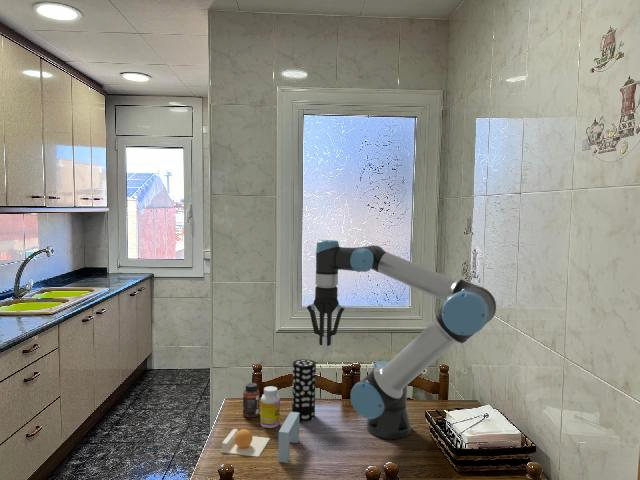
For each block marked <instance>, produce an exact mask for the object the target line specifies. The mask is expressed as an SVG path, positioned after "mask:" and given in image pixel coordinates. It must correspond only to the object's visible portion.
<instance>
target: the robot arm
mask: <svg viewBox="0 0 640 480" xmlns="http://www.w3.org/2000/svg"><path fill="white" fill-rule="evenodd" d="M339 243H340V242H339V241H338V240H334V239H323V240H322V239H320V240H318V241H317V242H316V247H315V248H316V250H315V285H316V286H315V289H314V293H315V294H314V300H313V303H311V304H308V306H307V307H306V309H307V310H308V312H309V315H310V316H309V317H310V320H311V325H312V329H313V333H314V335H318V339H319V340H318V342H319V344H318V345H319V346H321V355H322V357H327V356H328V355H329V351H328V350H329V347H330V346H331V344H332V336H335V335H336V334H337V332H338V329H339V326H340V322H341V319H342V315H343V312H344V311H345V310H346V308H345V306H342V305H341V304H340V303H339V300H338V292H339V291H338V288H339V287H338V282H339V279H338V278H339V271H351V272H356V273H361V272H363V273H364V272H365V273H367V272H369V271H370V270H372V271H375V272H378V273H380V274H383V275H384V276H387V277H389V278H390V279H394V280H395V281H397V282H401V283H402V284H404V285H406V286H409V287H411V288H414V289H416V290H418V291H420V292H423V293H425V294H427V295H430V296H431V297H434V298H436V299H438V300H440V301H442V302H444V303H443V305H442V306H440V308H438V310H436V311H435V313H434V320H433V321H432V322H431V323H430V324H429V325H428V326H427V327H425V329H424V330H422V331H421V332H420V333H419V334H418V335H417V336H416V337H415V338H413V339H412V340H411V341H410V342H409V343H408V344H407V345H406V346H405V347H404V348H403V349H401V351H399V352H398V353H397V354H396V355H395V356H394V357H393V358H392V359H391V360H389V361H376V362H374V364H373V367H372V371H370V372H369V373H368V374H367V375H366V376H365V377H363V378H362V380H360V381H358V382H356V383H355V384H354V385H353V386H352V389H351V390H350V402H351V405H352V407H353V409H354V411H355V412H356V413H357V414H358V415H359V416H361V417H362V418H364V419H366V430H367V431H368V432H369V434H371V435H373V436H376V437H378V438H381V439H387V440H397V439H398V440H399V439H400V440H401V439H403V438H406V437H408V436H410V434H411V432H412V431H411V429H412V428H411V427H412V426H411V422H410V417H409V413H408V410H407V396H408V395H407V392H408V385H409V384H410V383H411V382H412V381H413V380H414V379H416V378H417V377H418V376H419V375H420V374H422V373H423V372H424V371H425V370H426V369H427V368H428V367H429V366H430V365H432V364H433V363H434V362H436V360H438V359H439V358H440V357H441V356H442V355H444V353H446V352H447V351H448V350H449V349H450V348H451V347H452V346H454V345H455V344H462V345H463V344H464V343H465V342H467V341H468V340H469V339H470V338H472V337H473V336H474V335H475V334H476V333H478V332H479V331H481V330H483V328H484V327H485V326H486V324H488V323H489V322H490V321H491V320H492V319H493V318H494V316H495V314H496V311H497V302H496V300H495V297H494V295H493V294H492V293H491V292H490V291H489V290H488V289H487V288H484V287H483V286H480V285H477V284H475V283H471V282H469V281H466V280H464V279H461V278H460V279H459V278H458V279H457V280H455V279H453V278H450V277H448V276H446V275H443V274H442V273H439V272H436V271H433V270H431V269H429V268H426V267H425V266H424V267H423V266H421V265H419V264H417V263H414V262H412V261H409V260H407V259H405V258H402V257H400V256H398V255H395V254H392V253H390V252H388V251H385V250H384V249H383V248H382V247H381V246H379V245H367V246H359V247H342V246H340V244H339ZM315 309H316V310H315ZM335 310H336V311H337V314H336V318H335V322H334V324H332V323H333V321H332V319H333V313H334V311H335ZM316 311H318V312H319V325H318V319H317V316H316V315H317V314H316ZM325 315H326V334H325ZM332 325H333V326H332ZM332 327H333V329H332Z"/></svg>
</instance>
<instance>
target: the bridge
mask: <svg viewBox="0 0 640 480" xmlns="http://www.w3.org/2000/svg"><path fill="white" fill-rule="evenodd" d="M299 441H300V421H299V413H298V412H292V411H290V412H289V414H288V415H287V417H286V419H285V420H284V422H283V424H282V425H281V427H280V429H279V431H278V442H277V443H278V450H277V451H278V453H277V454H278V455H277V456H278V457H277V462H280V463H289V461H290V459H291V458H290V456H291V455H290V449H291V448H290V447H291V445H290V443H293V444H294V443H295V444H298V443H299Z"/></svg>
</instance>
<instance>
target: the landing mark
mask: <svg viewBox="0 0 640 480" xmlns="http://www.w3.org/2000/svg"><path fill="white" fill-rule="evenodd" d="M270 439H271V438H270V437H263V436H254V435H252V442H251V444H250V445H249V446H248V447H246V448H240V447H238V446H237V445H236V443H235V440H234V442H233V443H232V444H231V445H230V447H229V448H228V449H227V451H224V450H222V449H221V451H220V452H221V453H223V454H230V455H231V454H232V455H238V456H239V455H240V456H248V457H257V458H259V457H260V455H261V454H262V452H263V450H264V449H265V447H266V446H267V444H268V443H269V441H270Z"/></svg>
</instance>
